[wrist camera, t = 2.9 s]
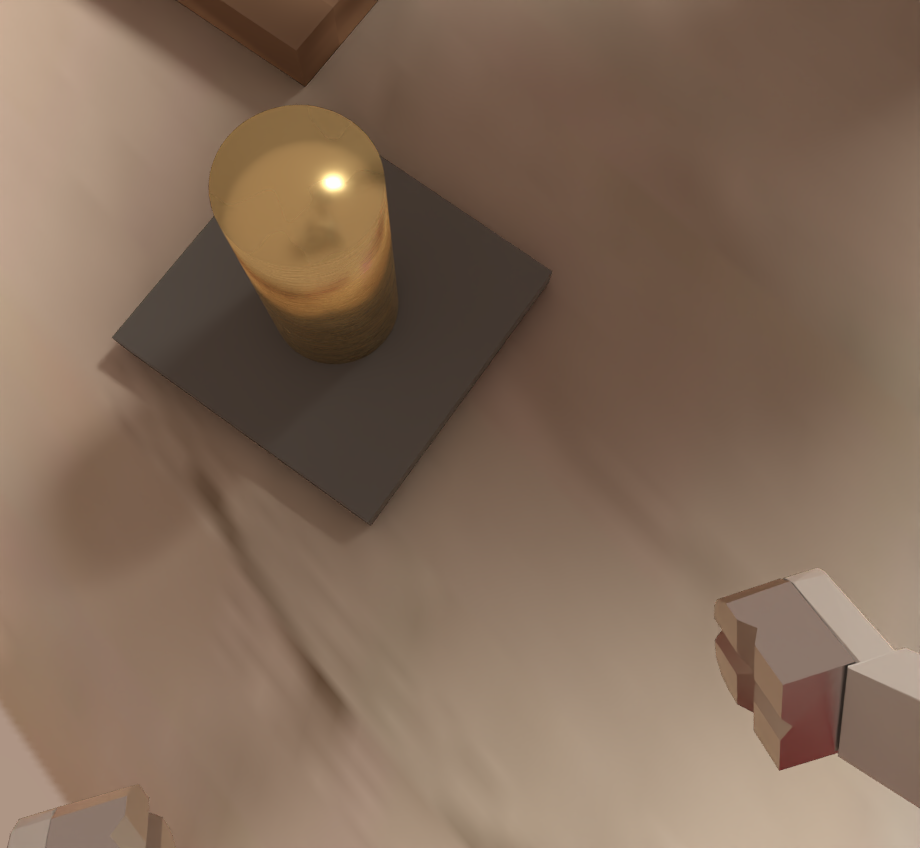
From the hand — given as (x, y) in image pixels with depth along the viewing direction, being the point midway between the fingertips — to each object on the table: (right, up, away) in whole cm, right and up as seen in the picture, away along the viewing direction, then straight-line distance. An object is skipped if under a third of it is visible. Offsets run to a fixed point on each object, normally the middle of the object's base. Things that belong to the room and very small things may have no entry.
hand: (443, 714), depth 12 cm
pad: (-4, +8, +17) cm, 19 cm away
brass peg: (-4, +8, +16) cm, 18 cm away
